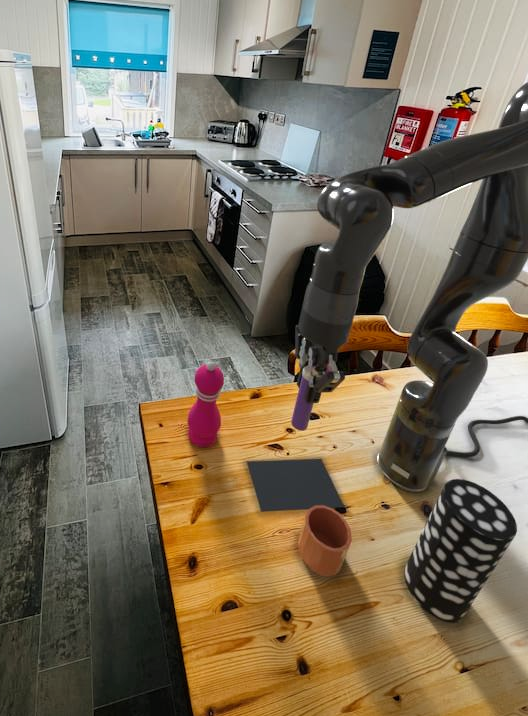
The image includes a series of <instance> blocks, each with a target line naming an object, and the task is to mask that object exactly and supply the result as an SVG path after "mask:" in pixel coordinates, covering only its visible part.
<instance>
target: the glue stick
mask: <svg viewBox="0 0 528 716" xmlns="http://www.w3.org/2000/svg"><path fill="white" fill-rule="evenodd" d="M315 368H316V367H315ZM309 377H310V373H309V372H308V366H305V367H304V368H303V372H302V379H301V383H300V387H299V388H298V392H297V395H296V400H295V404H294V408H293V412H292V416H291V421H290V423H291V426H292V427H293V428H294V429H295V430H297V431H301V432H302V431H306V430H307V429H308V426H309V422H310V419H311V415H312V412H313V407H314V404H315V403H309V404H308V403H306V401H305V395H306V391H307V387H308V383H309ZM320 378H321V376H317V377H316V380H318V379H320Z"/></svg>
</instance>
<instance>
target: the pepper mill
mask: <svg viewBox="0 0 528 716" xmlns="http://www.w3.org/2000/svg"><path fill="white" fill-rule="evenodd" d="M194 373H195V374H194V384H195V394H196V396H197V398H196V401H195V403H193V405H192V406H191V407H190V409H189V411H188V413H187V419H186V421H187V426H188V432H187V434H188V435H187V436H188V438H189V440H190V442H191V443H193V444H194V445H195V446H196V447H199V448H200V447H201V448H208V447H211V446H213V445H214V444H215V443H216V441H217V439H218V432H219V431H220V428H221V426H222V416H221V413H220V410H219V408H218V405H217V400H218V399H219V398H220V394H221V389H223V386H224V384H225V377H224V374H223V373H224V372H223V371H222V370H221V368H219V367H218V366H216V364H215V363H214V361H208V362H206V363H205V364H202V365H201V366H199V367H198V368H197V369H196V371H195V372H194Z"/></svg>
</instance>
